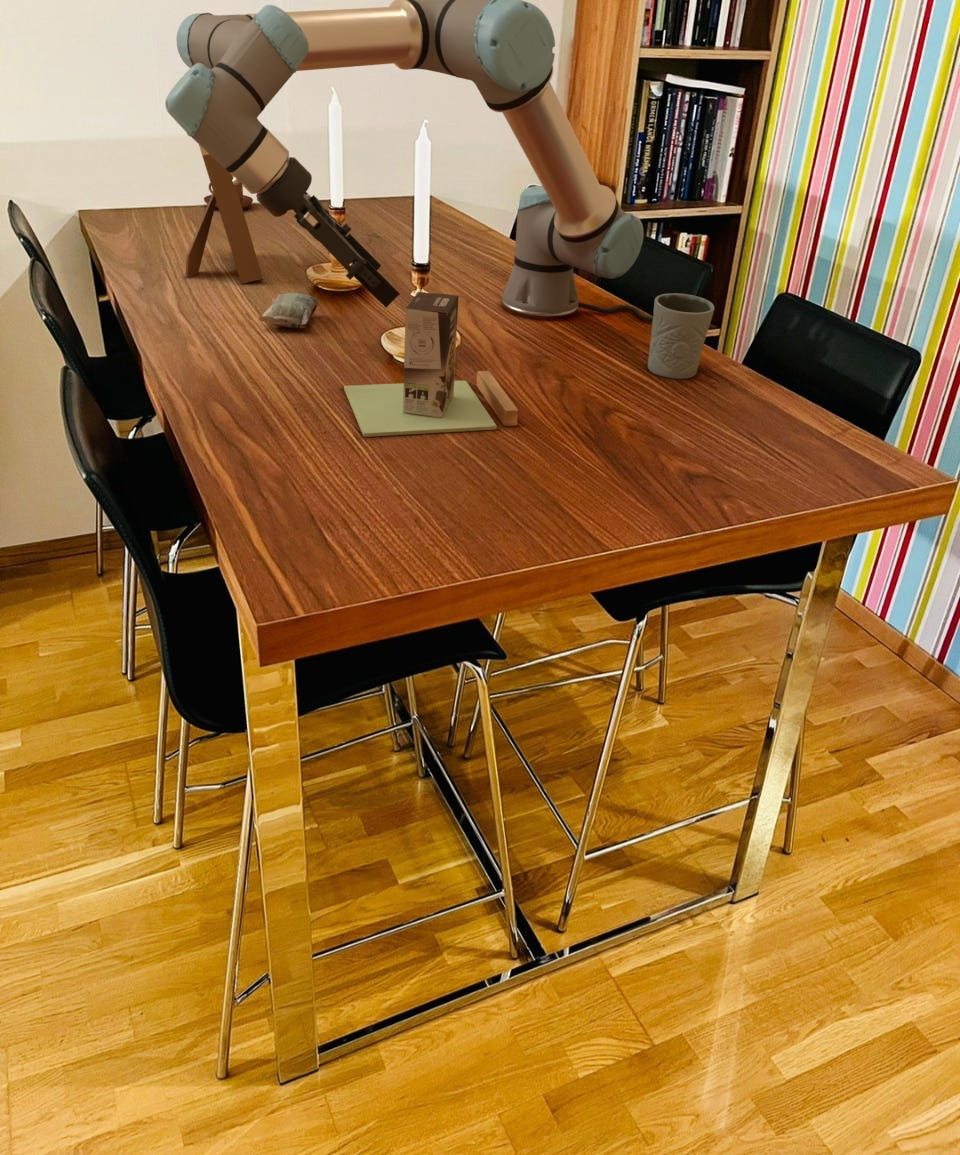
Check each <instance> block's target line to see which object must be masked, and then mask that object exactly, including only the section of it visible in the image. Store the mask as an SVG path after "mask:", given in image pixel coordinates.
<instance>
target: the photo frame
mask: <svg viewBox="0 0 960 1155" xmlns="http://www.w3.org/2000/svg"><path fill="white" fill-rule="evenodd" d="M198 147H199V150H200V153H201V156H202V159H203V162H204V166H205V169H206V172H207V176H208V179H209V183H210V182H211V189H212V191H213V193H211V194H210V195H211V198H210V200H209V202H208V204H207V205H206V208H205V210H204V212H203V214H202V217H201V220H200V222H199V224H198V227H197V229H196V231H195V234H194V236H193V239H192V241H191V243H190V246H189V248H188V251H187V253H186V259H185V260H186V261H185V262H186V263H185V277H187V278H188V277H191V276H193V275H195V274H197V273H199V271H200V268H201V265H202V260H203V258H204V257H203V256H204V252H205V248H206V245H207V241H208V237H209V232H210V228H211V225H212V220H213V215H214V213H215V209H216V208H215V205H216V202H217V205H218V208H217V209H218V211H219V215H220V218H221V221H222V225H223V228H224V231H225V233H226V238H227V240H228V244H229V247H230V250H231V254H232V257H233V260H234V263H235V267H236V271H237V273H238V276H239V280H240V283H241V285H244V284H247V283H251V282H255V281H259V280H263V279H264V278H263V277H264V276H263V274H262V270H261V267H260V263H259V260H258V257H257V254H256V251H255V247H254V243H253V240H252V236H251V234H250V233H251V232H250V229H249V226H248V223H247V219H246V216H245V212H244V208H242V205H241V202H240V199H239V195H238V192H237V188H236V185H234V184H233V182H232V180H233V179H234V176H232V175H231V174H230V173H229V172H228V171H227V170H226V169H225V168H224V167H223V166H222V165H221V164H220V163H218V162H217V161H216V160H215V159H214V158H213V157H212V156H211V155H210V154H209V153H208V152H207V151H206V150H205V149H204V148H202V147H201V146H200V145H199V144H198Z"/></svg>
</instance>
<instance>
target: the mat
mask: <svg viewBox="0 0 960 1155" xmlns="http://www.w3.org/2000/svg"><path fill="white" fill-rule="evenodd" d="M403 387H404V382H401V383H399V382H398V383H378V384H377V383H376V384H357V385H356V384H353V385H352V384H351V385H343V390H344V393H345V394H346V397H347V400H348V403H349V405H350V407H351V409H352V412H353V415H354V417H355V419H356V421H357V425H358V427H359V429H360V431H361V434H362V436H363V438H370V437H372V438H373V437H387V436H405V435H421V434H422V435H423V434H424V435H425V434H439V433H440V434H441V433H460V432H474V431H475V432H477V431H494V430H497V428H498V426H497V424H496V422H495V421H494V420H493V418H492V416H491V415H490V414H489V412H488V411H487V409H486V408H485V406H484V405H483V404H482V402H481V400H480V399H479V397H478V396H477V394H476V393H475V392H474V390H473V388H472V387H471V386H470V385H469V383H468V381H467V380H454V396H453V398H452V400H451V402H450V403H449V405H448V407H447V409H446V411H445V413H444V415H443V416H442V417H441V418H438V417H432V416H425V415H418V414H410V413H404V412H403Z"/></svg>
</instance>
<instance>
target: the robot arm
mask: <svg viewBox="0 0 960 1155" xmlns="http://www.w3.org/2000/svg"><path fill="white" fill-rule="evenodd" d="M555 46H556V39H555V35H554V31H553V27H552V25H551V23H550V21H549V19H548V17H547V15H545V13H544V12H543V11H542V10H541V9H540V8H539V7H538V6H536V5H535V4H533V3H531V2H528V1H526V0H393V1H392V2H391V3H390V5H389V6H383V7H382V6H381V7H362V8H343V9H341V8H340V9H323V10H322V9H321V10H302V11H301V10H300V11H299V10H298V11H285V10H284V9H282V8H281V7H278V6H277V5H274V4H266V5H264V6H263V7H262V8H261V9H260V10H259V11H258V12H257V13H246V14H217V15H216V14H213V13H210V12H202V13H201V12H199V13H198V12H197V13H191V14H190V15H188V16H186V17H185V18H184V19H183V20H182V21H181V23H180V25H179V27H178V29H177V31H176V47H177V52H178V55H179V57H180V58H181V60H182V62H183V63H184V64H185V65H186V66H187V67H188V68H189V69H188V70H187V71H186V72H185V73H184V74H183V75H182V77H181V78H180V79H179V80H178V81H177V82H176V83H175V84H174V85H173V87H172V88H171V90H170V91H169V92H168V94H167V96H166V98H165V103H164V104H165V109H166V111H167V113H168V114H169V115H170V117H172V118H173V120H174V121H175V122H176V124H178V125H179V126H180V127H181V128H182V129H183V131H184V132H185V133H186V134H187V136H188V137H191V138H192V140H193V141H194V142H196V143H197V144H198V146H199V145H200V146H201V147H202V148H204V149H205V150H206V151H207V152H208V153H209V154H210V155H211V156H212V157H213V158H214V159H215V160H216V161H217V162H218V163H220V164H221V165H222V166H223V167H224V168H225V169H226V170H227V171H228V172H229V173H230V174H231V175H232V176H233V178H234V179H233V180H232V182H233V184H234V185H239V184H240V183H241V182H242V185H243V188H244V189H245V190H246V191H247V192H248V193H249V194H251V195H255V194H256V195H255V198H256V201H257V202H258V203H259V204H260V205H261V206H262V207H263V208H264V209H266V211H268V212H269V213H270V214H271V215H272V216H273V217H274V218H275V217H276V218H279V217H282V216H284V215H286V214H287V212H289V211H291V210H292V211H293V212H294V213H295V214H294V215H293V217H294V218H295V221H296V223H298V224H299V226H300V227H301V228H303V229H304V230H306V231H307V232H308V233H309V235H311V236H312V237H313V239H314V240H316V241H317V242H319V243H320V244H321V245H322V246H323V247H324V248H325V249H326V250H327V251H328V253H330V254H331V256H332V257H333V258H334V259H335V260H336V261H337V262H338V263H339V264H340V265H341V266H342V267H343V269H344V270H346V271H347V273H346V275H345V277H346V278H347V279H348V280H349V281H351V280H352V279H353V278H355V279H356V280H357V281H358V282H359V283H360V284H361V285H362V286H363V287H364V288H365V289H366V290H367V291H368V292H369V293H370V294H371V295H372V296H373V297H374V298H375V299H376V300H377V301H378V302H379V303H380V304H381V305H382V306H383V307H384V308H385V309H387V308H388V307H389V306H390V305H391V304H392V303H393V302H394V301H395V299H397V298H398V297H399V296H400V292H399V291H398V290H397V289H396V288H395V286H393V285H392V284H391V283H390V282H389V281H388V280H387V279H386V278H385V277H384V276H383V275H382V274H381V273H380V272H379V271H378V270H379V269H380V268H381V267H382V265H381V263H379V261H377V259H376V258H375V257H374V256H373V255H372V254H370V252H369V251H368V250H367V249H366V248H365V247H363V245H362V244H361V243H360V242H359V241H358V240H357V239H356V238H355V237H354V236H353V235H352V234H351V233H350V231H352V228H351V226H349V224H348V223H345V224H344V225H343V224H342V223H341V222H340V221H338V220H337V219H336V218H335V217H334V216H333V215H332V214H330V211H329V210H328V209H327V207H325V206H324V205H323V203H322V201H320V199H319V198H318V197H317V196H315V195H314V194H313V195H312V196H311V195H310V194H309V193H308V192H307V191H308V190H309V188H310V186H311V184H312V181H313V176H312V174H311V173H310V171H309V170H308V169H307V168H306V167H304V165H303V164H302V163H301V162H300V161H299V160H298V159H297V158H296V157H292V156H290V151H289V149H288V148H286V147H285V145H284V144H283V143H282V142H281V141H280V140H279V139H278V138H277V137H276V136H275V135H274V134H273V133H272V132H271V131H270V130H269V128H267V127H266V126H265V125H264V124H262V122H261V121H260V120H259V119H258V118H259V116H260V115H261V114H262V113H263V112H264V110H265V108H266V107H267V106H268V105H269V104H270V102H272V100H273V99H274V98H275V96H276V95H277V94H278V93H279V92H280V91H281V89H282V88H283V87H284V86H285V84H286V83H287V82H288V81H289V80H290V79H291V77H292V76H293V75H294V74H296V73H297V72H304V71H315V70H316V71H317V70H328V69H329V70H330V69H339V68H355V67H365V66H366V67H367V66H377V65H378V66H379V65H390V64H393V65H395V66H396V67H397V68H398V69H400V70H403V71H405V70H406V71H408V70H425V71H431V72H435V73H439V74H444V75H447V76H451V77H455V78H458V79H463V80H467V81H472V83H474V85H475V86H476V89H477V90H478V92H479V93H480V95H481V97H482V99H483V101H484V102H485V104H486V106H487V107H488V109H490V110H491V111H492V112H495V113H502V115H503V117H504V119H505V120H506V123H507V124H508V125H509V127H510V130H511V131H512V133H513V136H515V138H516V140H517V142H518V144H519V145H520V146H519V147H520V148H521V149H522V151H523V153H524V155H525V157H526V158H527V160H528V162H529V164H530V166H531V168H532V169H533V171H534V173H535V175H536V177H537V178H538V181H539V183H540V184H541V185H535V186H529V187H526V188H525V189H523V190H522V191H521V193H520V196H519V202H518V207H517V212H516V213H517V215H516V230H515V246H514V260H513V267H512V270H511V272H510V274H509V277H508V279H507V282H506V285H505V288H504V290H503V293H502V296H501V307H502V309H504V310H505V311H506V312H508V313H510V314H513V315H515V316H519V317H523V318H527V319H532V320H533V319H534V320H544V321H545V320H549V321H551V320H552V321H553V320H563V319H567V318H571V317H573V316H575V315H576V314H578V312H579V308H580V309H581V308H582V309H585V310H589V311H593V312H596V313H599V314H613V313H616V312H619V311H628V312H631V313H632V314H634V315H635V316H637V317H638V318H639V319H640V320H642V321H644V322H648V323H653V316H648V315H646V314H643V313H642V312H641V311H640V310H639V309H638V308H637V307H634V306H631V305H627V304H619V305H615V306H611V307H600V306H596V305H594V304H589V303H585V302H582V301H581V302H580V301H579V295H578V289H577V285H576V279H575V274H574V268H576V269H578V270H582V271H585V272H587V273H590V274H592V275H594V276H596V277H598V278H604V279H608V280H613V279H617V278H620V277H622V276H623V275H625V274H626V273H627V272H628V271H629V270H631V268H632V267H633V266H634V264H635V262H636V261H637V259H638V257H639V254H640V253H641V248H642V246H643V243H644V242H643V241H644V233H645V232H644V226H643V225H644V224H643V223H642V221H641V219H640V218H639V217H638V216H636V215H635V214H634V213H632V212H626V211H624V210H623V209H622V206H621V204H620V203H619V200H618V199H617V197H616V195H615V193H614V192H613V190H612V189H611V188H610V187H608V186H606V185H603V184H600V183H599V180H598V178H597V176H596V174H595V172H594V170H593V167H592V166H591V164H590V162H589V159H588V157H587V156H586V154H585V151H584V149H583V147H582V145H581V143H580V141H579V139H578V137H577V135H576V132H575V130H574V129H573V126H572V125H571V122H570V120H569V118H568V116H567V114H566V111H565V110H564V108H563V105H562V104H561V101H560V100H559V98H558V96H557V93H556V92H555V89H554V88H553V85H552V83H551V80H552V78H553V75H554V61H555V56H556V55H555V52H553V49H554V47H555Z"/></svg>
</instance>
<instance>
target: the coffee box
mask: <svg viewBox="0 0 960 1155" xmlns="http://www.w3.org/2000/svg"><path fill="white" fill-rule="evenodd" d="M459 297H460V296H459V295H457V294H449V293H439V292H425V291H424V292H423V291H418V292H417V293H416V294H415V295H414V297H413V298H412V299H411V301H410V302H409V303H408V305H407V306H406V307H405V320H404V321H405V324H404V350H403V351H404V352H403V353H404V354H403V383H404V387H403V412H404V413H410V414H418V415H425V416H432V417H438V418H441V417H442V416H443V415H444V413H445V411H446V409H447V407H448V405H449V403H450V402H451V400H452V398H453V396H454V381H455V376H456V354H457V334H458V333H457V332H458V317H459V316H458V315H459V314H458V313H459Z"/></svg>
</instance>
